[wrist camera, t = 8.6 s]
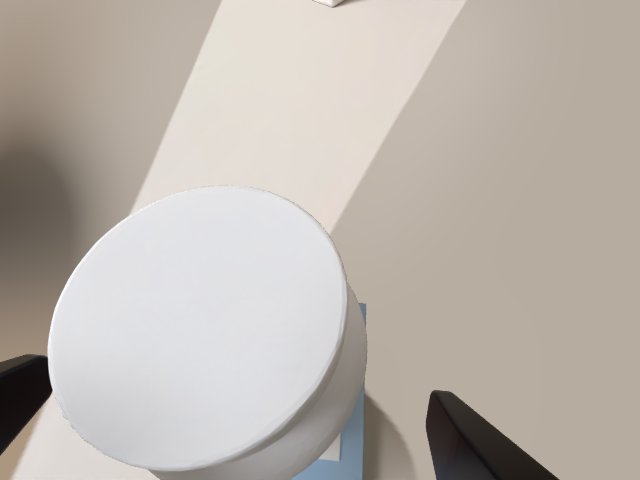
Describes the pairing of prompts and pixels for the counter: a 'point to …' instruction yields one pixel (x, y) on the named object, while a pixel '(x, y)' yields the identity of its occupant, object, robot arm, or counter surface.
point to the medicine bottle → (329, 2)
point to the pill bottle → (210, 339)
